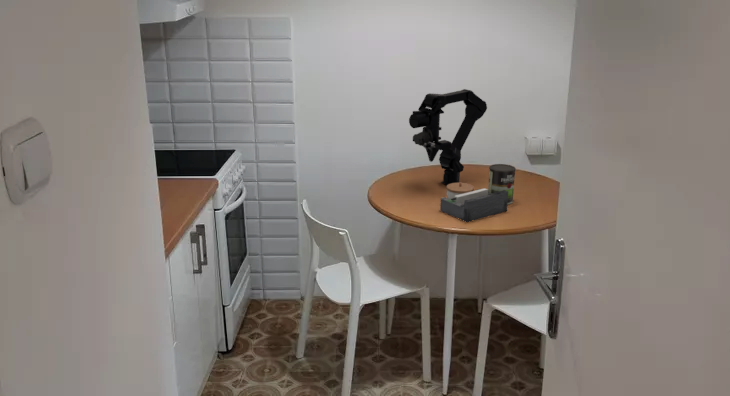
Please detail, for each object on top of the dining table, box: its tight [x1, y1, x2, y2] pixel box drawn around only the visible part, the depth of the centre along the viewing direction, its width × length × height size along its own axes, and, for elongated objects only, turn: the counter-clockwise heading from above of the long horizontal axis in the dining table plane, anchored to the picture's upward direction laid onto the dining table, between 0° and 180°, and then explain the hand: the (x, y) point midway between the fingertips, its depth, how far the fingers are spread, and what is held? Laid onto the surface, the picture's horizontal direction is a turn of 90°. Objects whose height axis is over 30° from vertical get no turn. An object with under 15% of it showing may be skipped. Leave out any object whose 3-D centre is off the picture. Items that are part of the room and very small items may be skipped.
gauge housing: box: [439, 188, 508, 223], centre depth 273 cm, size 21×15×8 cm
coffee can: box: [487, 163, 516, 206], centre depth 283 cm, size 10×10×14 cm
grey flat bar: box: [451, 187, 488, 205], centre depth 274 cm, size 18×2×6 cm, turn 125°
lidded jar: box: [446, 181, 475, 199], centre depth 279 cm, size 11×11×9 cm
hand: (431, 161), depth 296 cm, fingers closed
